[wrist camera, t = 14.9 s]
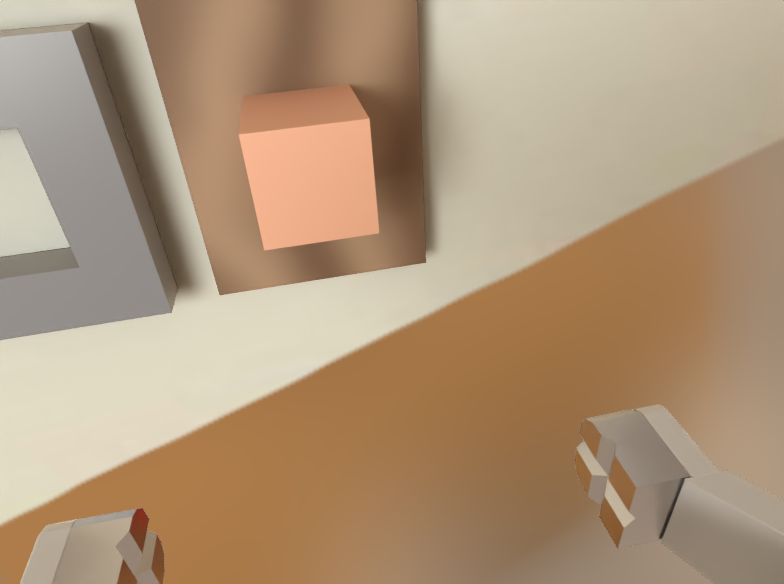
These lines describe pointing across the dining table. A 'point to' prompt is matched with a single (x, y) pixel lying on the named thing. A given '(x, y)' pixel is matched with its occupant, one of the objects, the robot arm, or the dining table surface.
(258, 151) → the terracotta block
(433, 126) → the dining table surface
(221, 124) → the walnut board
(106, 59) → the dining table surface
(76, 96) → the pocket plate
